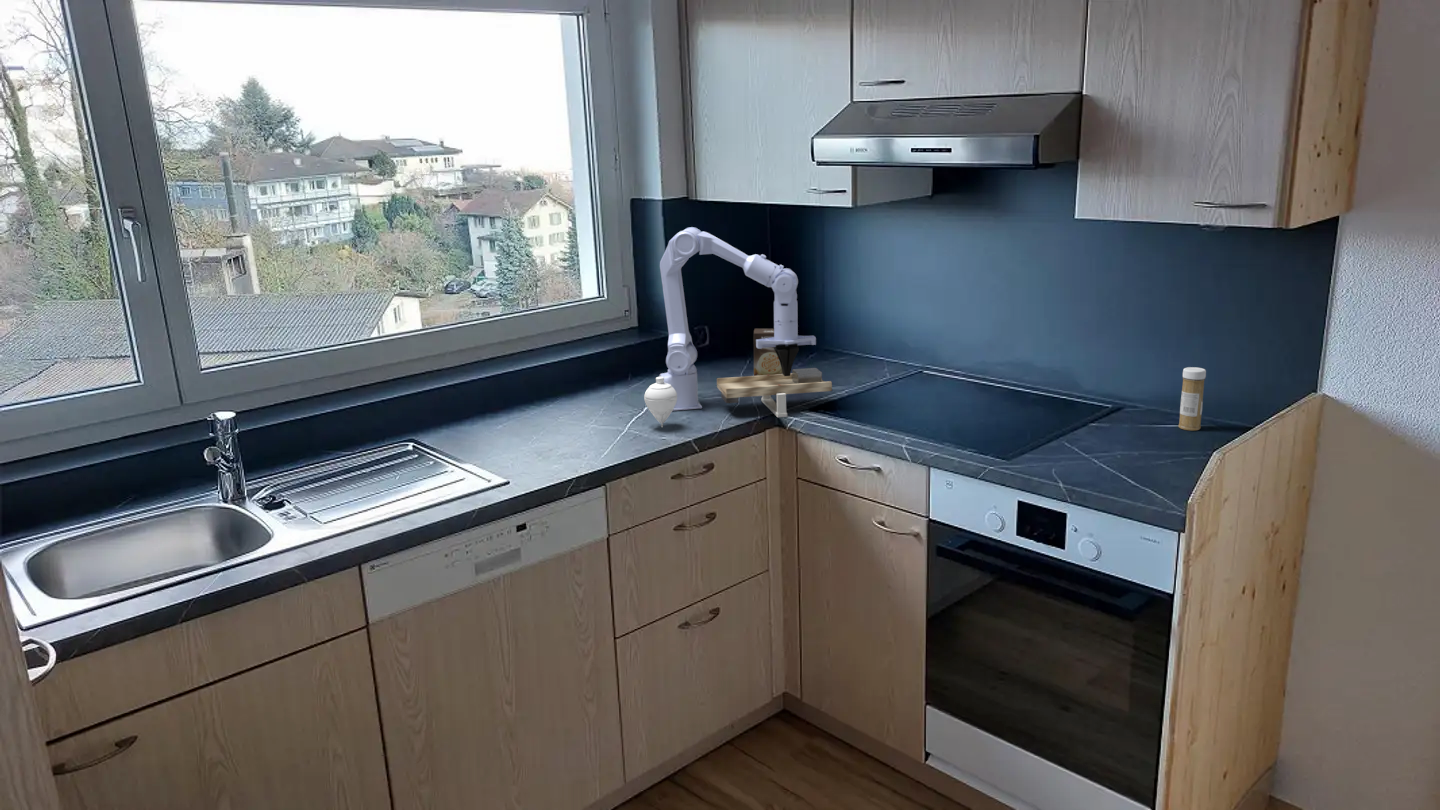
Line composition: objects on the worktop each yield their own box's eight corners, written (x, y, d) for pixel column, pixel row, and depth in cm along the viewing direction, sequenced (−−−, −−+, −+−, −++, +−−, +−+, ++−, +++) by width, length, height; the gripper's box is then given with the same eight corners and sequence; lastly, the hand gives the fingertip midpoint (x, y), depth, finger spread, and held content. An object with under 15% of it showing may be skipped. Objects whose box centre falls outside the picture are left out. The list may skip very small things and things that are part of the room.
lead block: (798, 385, 246) (798, 373, 245) (792, 381, 251) (792, 369, 250) (821, 384, 247) (821, 372, 247) (815, 379, 252) (815, 367, 251)
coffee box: (753, 393, 264) (751, 332, 260) (754, 387, 270) (753, 328, 266) (788, 393, 263) (787, 332, 259) (789, 387, 270) (788, 327, 265)
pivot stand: (777, 417, 241) (777, 395, 240) (761, 401, 256) (761, 379, 255) (787, 416, 242) (787, 394, 240) (770, 400, 257) (770, 379, 255)
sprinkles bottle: (1204, 428, 222) (1210, 369, 219) (1192, 432, 220) (1198, 372, 216) (1185, 424, 226) (1191, 365, 223) (1173, 427, 224) (1178, 368, 220)
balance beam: (727, 406, 240) (726, 389, 239) (716, 394, 252) (716, 377, 251) (832, 399, 245) (832, 382, 244) (817, 387, 257) (817, 370, 256)
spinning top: (684, 424, 237) (682, 375, 234) (666, 433, 231) (664, 382, 228) (657, 421, 241) (655, 372, 238) (639, 429, 235) (636, 379, 232)
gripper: (760, 325, 239) (761, 381, 242) (819, 321, 242) (819, 376, 245) (753, 320, 246) (754, 374, 249) (811, 316, 248) (811, 370, 252)
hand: (786, 375), depth 248 cm, fingers closed
